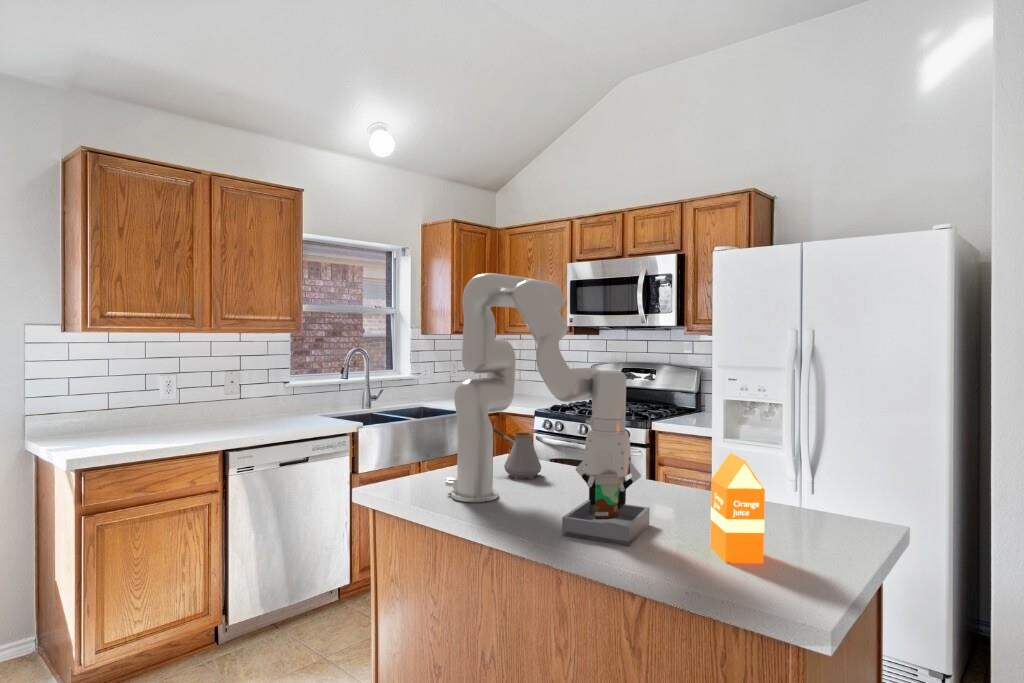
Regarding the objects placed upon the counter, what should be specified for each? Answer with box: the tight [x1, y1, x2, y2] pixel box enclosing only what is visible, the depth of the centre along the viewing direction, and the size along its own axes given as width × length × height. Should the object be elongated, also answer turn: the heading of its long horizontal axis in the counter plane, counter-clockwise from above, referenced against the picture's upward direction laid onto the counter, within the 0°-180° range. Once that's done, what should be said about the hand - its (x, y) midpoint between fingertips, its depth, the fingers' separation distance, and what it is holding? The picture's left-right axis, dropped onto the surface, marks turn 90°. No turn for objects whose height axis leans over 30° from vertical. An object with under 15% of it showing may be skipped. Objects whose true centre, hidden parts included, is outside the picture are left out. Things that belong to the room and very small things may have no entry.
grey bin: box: [561, 498, 651, 547], centre depth 143 cm, size 15×17×4 cm
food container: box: [595, 474, 626, 520], centre depth 143 cm, size 12×6×10 cm, turn 168°
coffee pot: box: [493, 427, 542, 479], centre depth 198 cm, size 21×12×15 cm, turn 55°
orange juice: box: [709, 452, 766, 564], centre depth 128 cm, size 8×9×20 cm
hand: (607, 504), depth 143 cm, fingers closed on food container, 5 cm apart
